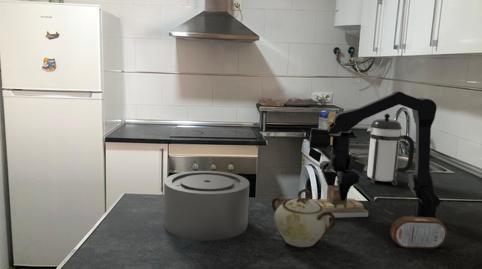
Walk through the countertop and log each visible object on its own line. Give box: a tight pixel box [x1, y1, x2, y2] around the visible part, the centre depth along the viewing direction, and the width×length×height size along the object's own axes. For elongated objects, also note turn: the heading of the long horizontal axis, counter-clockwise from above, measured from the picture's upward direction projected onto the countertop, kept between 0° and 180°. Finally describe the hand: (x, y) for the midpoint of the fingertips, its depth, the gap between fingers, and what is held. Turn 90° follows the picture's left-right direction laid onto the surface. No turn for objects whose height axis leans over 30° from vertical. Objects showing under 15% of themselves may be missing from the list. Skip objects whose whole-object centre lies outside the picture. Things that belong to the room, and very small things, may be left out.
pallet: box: [310, 197, 365, 211], centre depth 141 cm, size 7×17×2 cm, turn 101°
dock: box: [328, 209, 369, 219], centre depth 141 cm, size 9×19×2 cm, turn 101°
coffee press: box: [364, 113, 415, 186], centre depth 183 cm, size 17×16×30 cm
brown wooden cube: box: [325, 184, 348, 205], centre depth 140 cm, size 5×5×5 cm
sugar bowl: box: [271, 188, 337, 248], centre depth 116 cm, size 20×15×15 cm
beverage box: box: [317, 110, 339, 145], centre depth 266 cm, size 7×11×22 cm, turn 136°
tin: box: [390, 216, 448, 249], centre depth 116 cm, size 15×3×8 cm, turn 92°
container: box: [163, 170, 250, 242], centre depth 126 cm, size 25×25×13 cm
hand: (336, 196), depth 141 cm, fingers open, 9 cm apart
